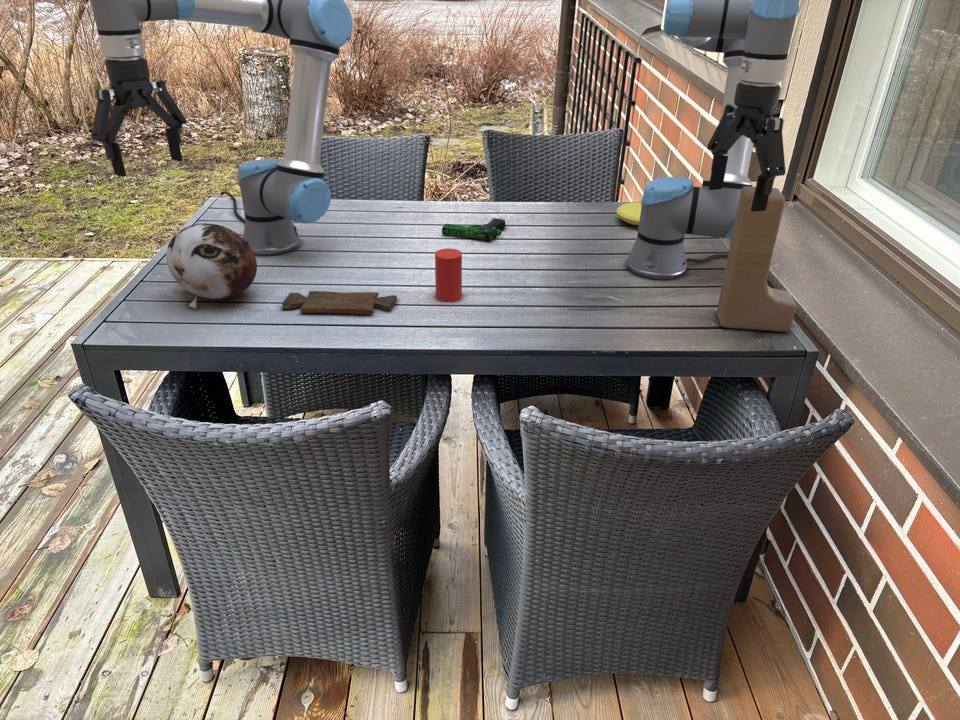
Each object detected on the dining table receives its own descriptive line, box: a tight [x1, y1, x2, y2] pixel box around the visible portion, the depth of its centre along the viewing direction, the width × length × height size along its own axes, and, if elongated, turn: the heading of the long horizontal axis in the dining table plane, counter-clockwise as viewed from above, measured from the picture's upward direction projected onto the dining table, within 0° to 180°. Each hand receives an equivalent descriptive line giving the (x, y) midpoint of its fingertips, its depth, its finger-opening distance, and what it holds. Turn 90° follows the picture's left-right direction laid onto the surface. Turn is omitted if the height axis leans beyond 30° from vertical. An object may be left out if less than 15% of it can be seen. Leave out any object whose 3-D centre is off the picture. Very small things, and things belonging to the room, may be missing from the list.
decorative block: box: [716, 186, 797, 333], centre depth 153 cm, size 8×15×30 cm, turn 82°
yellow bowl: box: [616, 198, 642, 227], centre depth 215 cm, size 16×16×7 cm
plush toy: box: [165, 222, 258, 309], centre depth 165 cm, size 22×18×20 cm
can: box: [434, 247, 463, 303], centre depth 168 cm, size 6×6×11 cm
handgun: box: [441, 217, 506, 242], centre depth 207 cm, size 16×3×15 cm
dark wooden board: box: [281, 290, 398, 315], centre depth 165 cm, size 26×2×10 cm
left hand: (149, 167), depth 149 cm, fingers open, 13 cm apart
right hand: (735, 199), depth 138 cm, fingers open, 13 cm apart
